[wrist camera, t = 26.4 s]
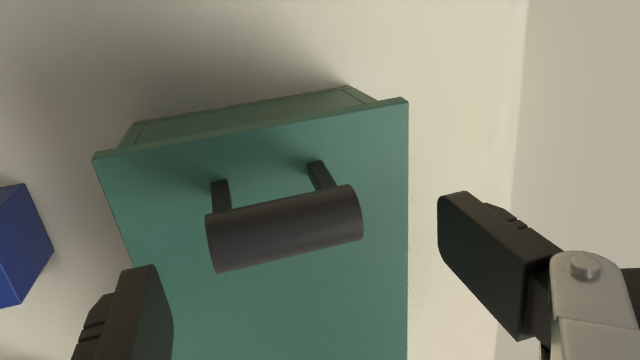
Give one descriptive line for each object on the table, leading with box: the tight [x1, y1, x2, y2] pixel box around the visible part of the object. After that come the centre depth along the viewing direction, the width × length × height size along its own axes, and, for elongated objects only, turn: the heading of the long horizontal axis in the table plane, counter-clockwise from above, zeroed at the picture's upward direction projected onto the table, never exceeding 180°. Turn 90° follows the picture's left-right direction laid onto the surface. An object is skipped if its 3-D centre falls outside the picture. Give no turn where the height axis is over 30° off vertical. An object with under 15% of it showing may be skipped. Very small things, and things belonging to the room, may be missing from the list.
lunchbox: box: [117, 86, 378, 148], centre depth 25 cm, size 17×13×6 cm
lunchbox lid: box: [92, 97, 409, 360], centre depth 19 cm, size 17×13×6 cm
